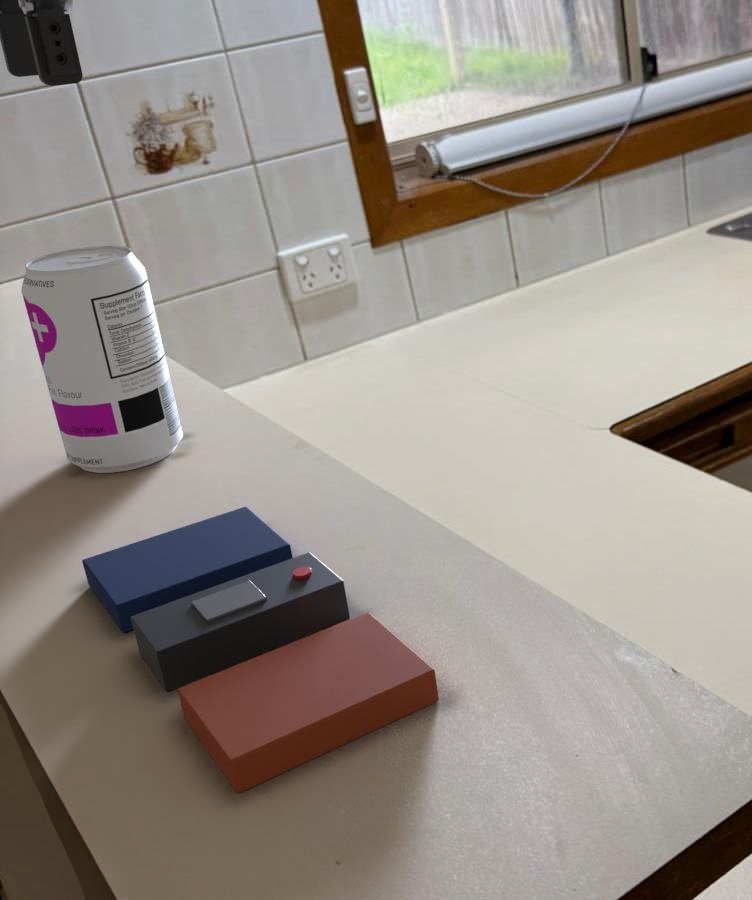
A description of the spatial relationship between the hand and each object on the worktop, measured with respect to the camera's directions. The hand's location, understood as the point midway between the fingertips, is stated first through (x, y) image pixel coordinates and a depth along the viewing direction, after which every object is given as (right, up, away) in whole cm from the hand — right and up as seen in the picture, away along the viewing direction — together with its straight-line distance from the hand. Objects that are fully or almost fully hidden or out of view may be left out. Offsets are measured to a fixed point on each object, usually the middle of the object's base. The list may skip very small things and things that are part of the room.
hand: (45, 79), depth 68 cm
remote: (+14, -32, -7) cm, 36 cm away
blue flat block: (+9, -30, -1) cm, 31 cm away
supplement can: (-2, -23, +17) cm, 29 cm away
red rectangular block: (+20, -35, -14) cm, 42 cm away
